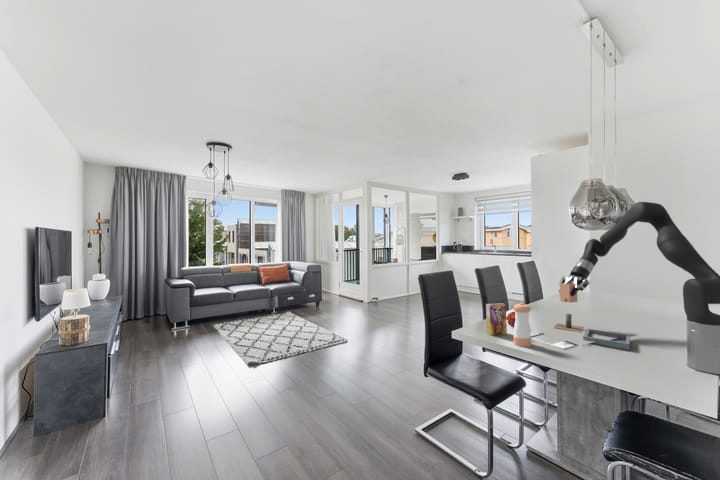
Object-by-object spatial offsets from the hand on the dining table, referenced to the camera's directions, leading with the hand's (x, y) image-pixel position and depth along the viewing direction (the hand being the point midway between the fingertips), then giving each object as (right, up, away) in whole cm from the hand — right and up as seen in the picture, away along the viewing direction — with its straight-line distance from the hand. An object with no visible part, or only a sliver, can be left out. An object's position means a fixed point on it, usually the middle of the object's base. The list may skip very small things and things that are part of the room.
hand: (565, 293), depth 159 cm
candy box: (-38, -20, -3) cm, 43 cm away
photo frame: (-16, -20, -14) cm, 29 cm away
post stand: (+2, -19, +1) cm, 19 cm away
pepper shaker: (-33, -20, -18) cm, 42 cm away
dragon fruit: (-21, -20, +9) cm, 30 cm away
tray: (+7, -19, -17) cm, 27 cm away
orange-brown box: (+2, -4, +1) cm, 4 cm away
